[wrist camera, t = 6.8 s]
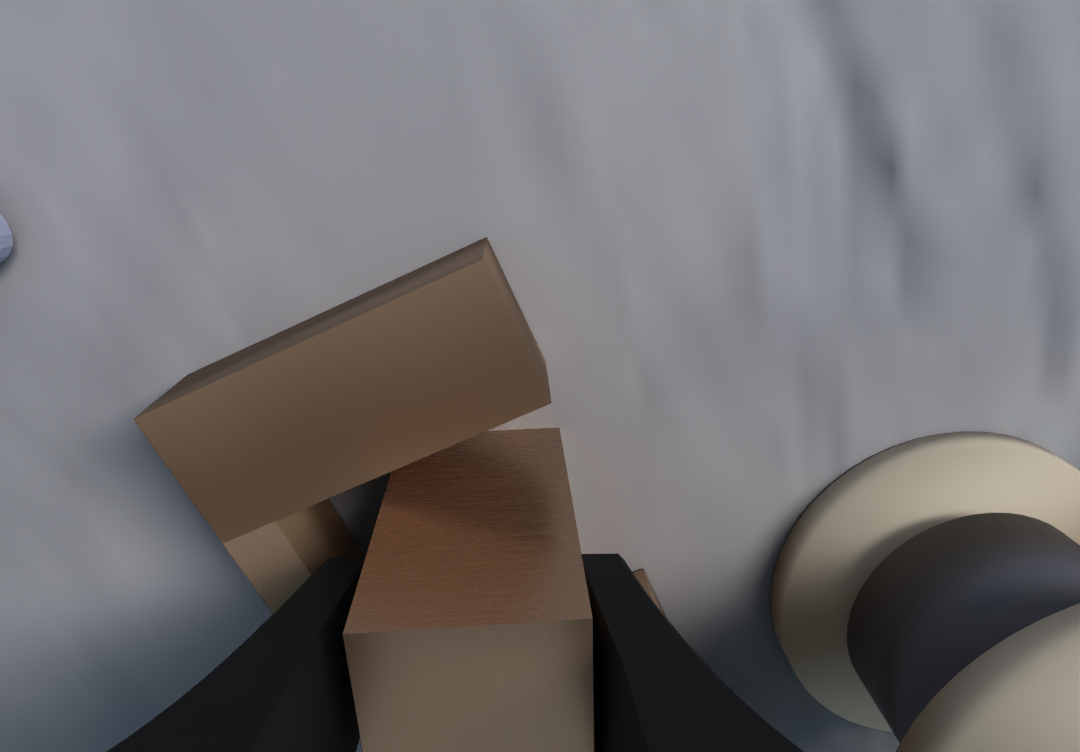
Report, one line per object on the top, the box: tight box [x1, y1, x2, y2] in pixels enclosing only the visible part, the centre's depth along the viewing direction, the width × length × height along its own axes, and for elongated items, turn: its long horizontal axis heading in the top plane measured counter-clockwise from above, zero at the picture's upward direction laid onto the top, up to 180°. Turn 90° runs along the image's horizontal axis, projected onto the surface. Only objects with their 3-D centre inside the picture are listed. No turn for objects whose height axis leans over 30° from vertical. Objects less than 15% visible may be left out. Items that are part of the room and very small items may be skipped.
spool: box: [771, 431, 1080, 752], centre depth 13 cm, size 7×7×6 cm
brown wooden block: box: [343, 428, 594, 752], centre depth 12 cm, size 3×3×6 cm
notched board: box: [133, 237, 666, 617], centre depth 14 cm, size 14×6×2 cm, turn 24°
